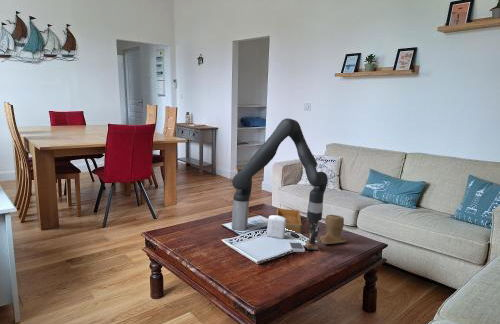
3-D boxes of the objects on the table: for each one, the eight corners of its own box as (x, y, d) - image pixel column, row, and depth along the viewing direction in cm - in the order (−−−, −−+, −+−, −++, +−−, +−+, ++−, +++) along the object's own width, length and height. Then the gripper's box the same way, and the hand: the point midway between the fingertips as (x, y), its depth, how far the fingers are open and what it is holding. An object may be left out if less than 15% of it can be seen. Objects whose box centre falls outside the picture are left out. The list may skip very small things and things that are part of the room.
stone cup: (335, 236, 202) (338, 211, 199) (349, 244, 191) (352, 218, 189) (314, 238, 196) (316, 213, 193) (326, 247, 185) (329, 220, 182)
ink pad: (290, 251, 176) (291, 248, 176) (288, 245, 184) (288, 242, 183) (304, 252, 176) (304, 248, 176) (301, 245, 184) (301, 242, 184)
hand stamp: (307, 249, 178) (309, 235, 177) (305, 245, 183) (306, 231, 182) (317, 249, 178) (318, 235, 177) (314, 245, 183) (316, 232, 182)
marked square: (305, 252, 176) (305, 251, 176) (301, 245, 184) (301, 245, 184) (320, 252, 177) (320, 252, 177) (316, 246, 185) (316, 245, 185)
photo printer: (285, 237, 195) (287, 216, 193) (283, 239, 191) (285, 218, 189) (267, 233, 198) (269, 213, 196) (265, 236, 194) (267, 215, 192)
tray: (276, 215, 233) (276, 207, 233) (298, 217, 232) (299, 209, 231) (275, 231, 203) (275, 222, 202) (300, 234, 202) (301, 225, 201)
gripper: (304, 205, 184) (301, 236, 187) (311, 214, 170) (307, 247, 173) (318, 206, 185) (315, 237, 187) (326, 214, 171) (322, 247, 174)
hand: (311, 241), depth 180 cm, fingers closed on hand stamp, 3 cm apart
